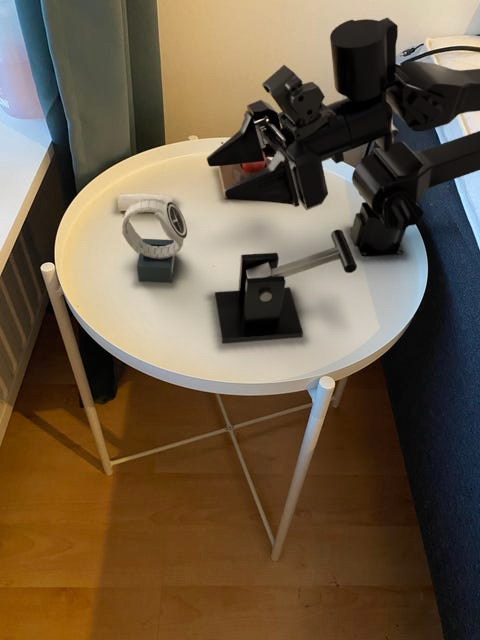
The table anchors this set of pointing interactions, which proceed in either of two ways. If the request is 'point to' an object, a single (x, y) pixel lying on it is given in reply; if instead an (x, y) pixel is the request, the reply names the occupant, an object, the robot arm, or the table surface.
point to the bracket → (257, 306)
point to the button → (254, 166)
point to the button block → (234, 174)
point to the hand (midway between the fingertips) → (216, 177)
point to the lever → (310, 260)
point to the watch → (156, 252)
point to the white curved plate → (129, 199)
